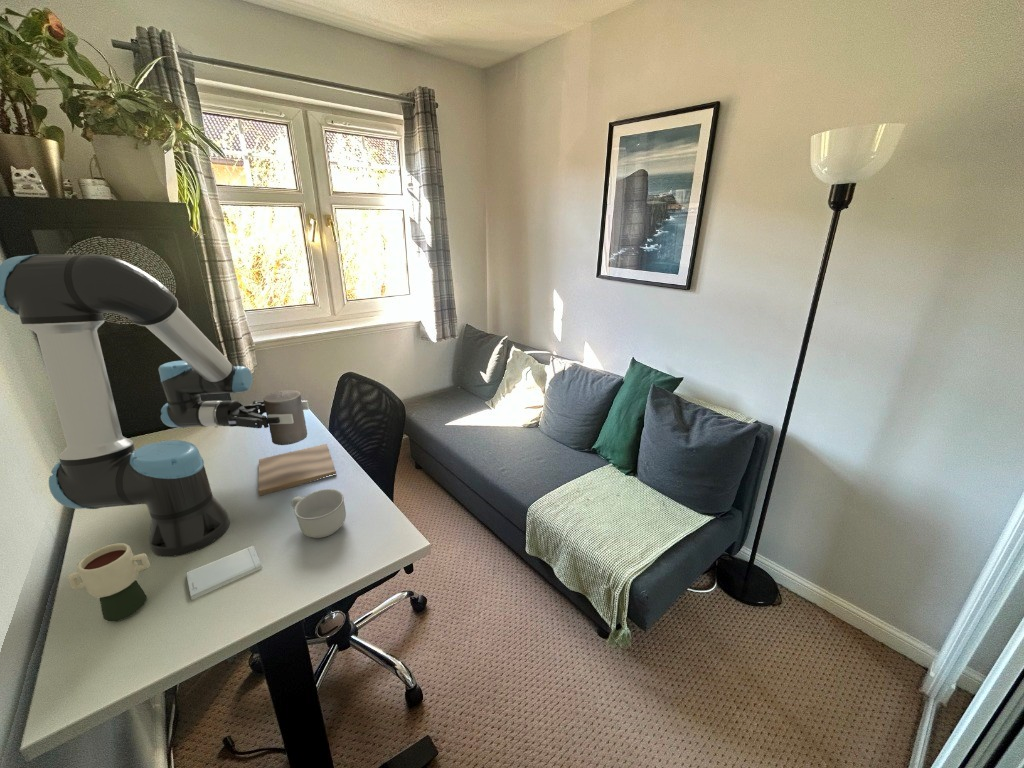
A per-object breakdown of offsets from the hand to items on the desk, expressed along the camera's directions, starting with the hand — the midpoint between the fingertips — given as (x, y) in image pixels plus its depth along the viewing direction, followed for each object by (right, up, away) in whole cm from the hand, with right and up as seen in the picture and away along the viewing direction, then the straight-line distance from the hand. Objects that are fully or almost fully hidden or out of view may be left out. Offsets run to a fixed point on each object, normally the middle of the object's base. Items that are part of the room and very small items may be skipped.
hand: (300, 411), depth 121 cm
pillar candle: (-4, -8, +3) cm, 10 cm away
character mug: (-11, -35, -42) cm, 56 cm away
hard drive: (+1, -33, -33) cm, 47 cm away
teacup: (+15, -27, -20) cm, 37 cm away
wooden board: (-4, -18, +5) cm, 19 cm away
